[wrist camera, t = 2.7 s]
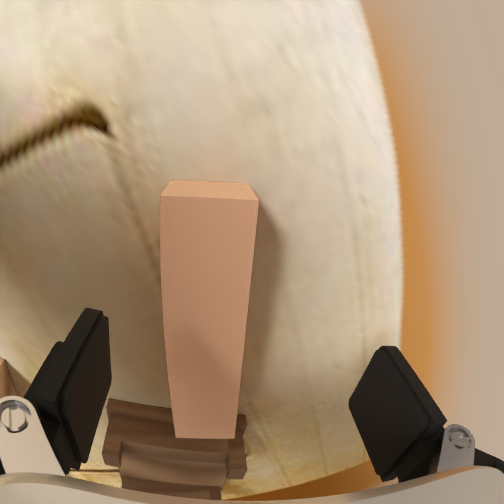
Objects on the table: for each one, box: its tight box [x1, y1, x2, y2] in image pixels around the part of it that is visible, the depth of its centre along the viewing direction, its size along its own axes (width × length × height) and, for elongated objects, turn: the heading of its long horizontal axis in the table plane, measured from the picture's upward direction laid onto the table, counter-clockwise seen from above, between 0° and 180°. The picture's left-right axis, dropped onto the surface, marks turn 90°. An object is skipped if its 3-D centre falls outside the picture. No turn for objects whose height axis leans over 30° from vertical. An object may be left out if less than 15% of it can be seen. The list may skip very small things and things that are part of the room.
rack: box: [102, 399, 247, 500], centre depth 22 cm, size 15×11×5 cm
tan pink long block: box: [160, 180, 259, 439], centre depth 17 cm, size 16×4×4 cm, turn 175°
